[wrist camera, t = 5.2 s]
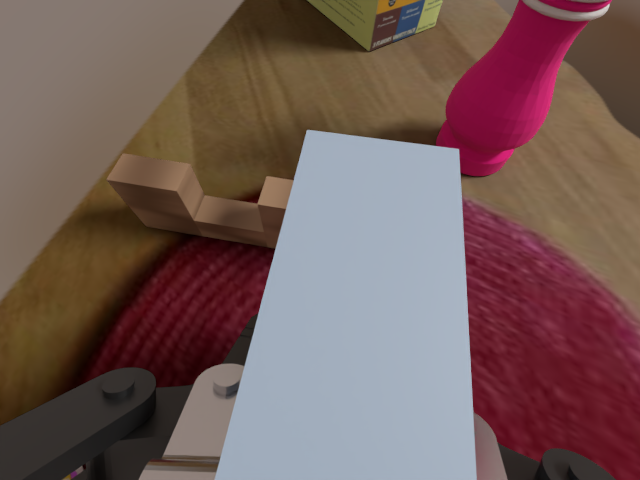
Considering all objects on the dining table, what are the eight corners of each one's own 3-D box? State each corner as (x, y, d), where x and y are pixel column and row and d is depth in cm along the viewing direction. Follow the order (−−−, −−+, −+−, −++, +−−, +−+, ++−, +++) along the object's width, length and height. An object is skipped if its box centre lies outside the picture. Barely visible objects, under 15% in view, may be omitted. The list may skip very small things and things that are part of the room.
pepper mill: (487, 195, 27) (814, -213, 10) (414, 152, 29) (572, -246, 12) (523, 148, 30) (825, -235, 12) (453, 112, 32) (628, -259, 14)
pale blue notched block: (313, 308, 17) (307, 129, 6) (370, 317, 17) (459, 149, 6) (272, 528, 13) (63, 1053, 2) (348, 545, 12) (515, 1216, 2)
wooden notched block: (370, 238, 25) (385, 194, 20) (367, 264, 24) (382, 224, 19) (157, 203, 26) (122, 153, 21) (145, 226, 25) (106, 179, 20)
